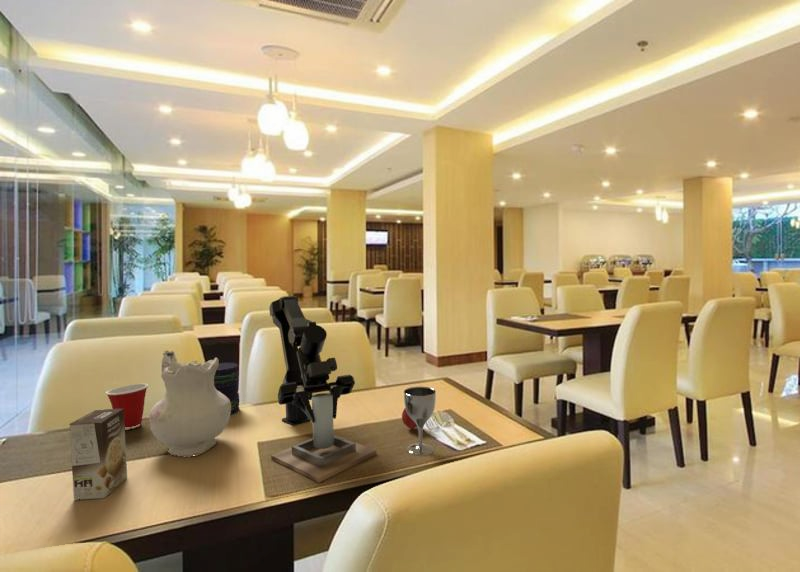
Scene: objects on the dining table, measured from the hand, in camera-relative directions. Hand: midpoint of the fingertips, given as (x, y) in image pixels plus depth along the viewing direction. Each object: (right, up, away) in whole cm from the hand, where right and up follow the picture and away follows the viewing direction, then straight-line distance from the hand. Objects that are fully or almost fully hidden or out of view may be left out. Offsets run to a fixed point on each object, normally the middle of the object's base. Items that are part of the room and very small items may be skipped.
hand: (324, 420), depth 109 cm
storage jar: (-38, -8, +36) cm, 53 cm away
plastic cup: (-62, -10, +24) cm, 67 cm away
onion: (+22, -8, +18) cm, 30 cm away
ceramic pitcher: (-37, -10, +10) cm, 40 cm away
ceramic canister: (0, -7, +2) cm, 7 cm away
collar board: (0, -10, +2) cm, 10 cm away
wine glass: (+23, -9, +5) cm, 26 cm away
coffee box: (-46, -12, -12) cm, 49 cm away
